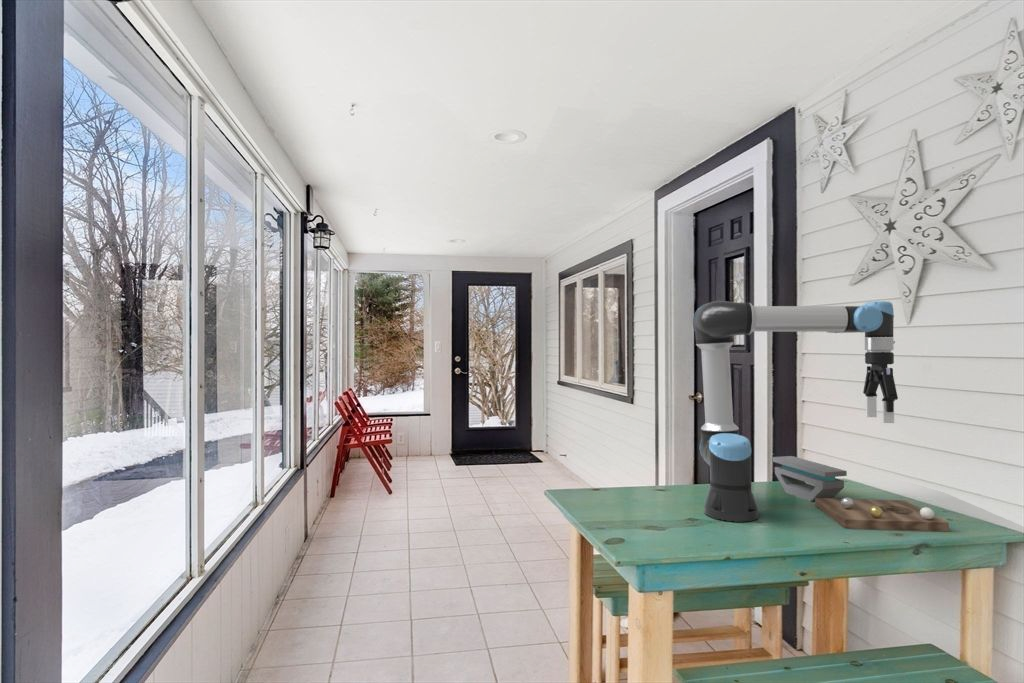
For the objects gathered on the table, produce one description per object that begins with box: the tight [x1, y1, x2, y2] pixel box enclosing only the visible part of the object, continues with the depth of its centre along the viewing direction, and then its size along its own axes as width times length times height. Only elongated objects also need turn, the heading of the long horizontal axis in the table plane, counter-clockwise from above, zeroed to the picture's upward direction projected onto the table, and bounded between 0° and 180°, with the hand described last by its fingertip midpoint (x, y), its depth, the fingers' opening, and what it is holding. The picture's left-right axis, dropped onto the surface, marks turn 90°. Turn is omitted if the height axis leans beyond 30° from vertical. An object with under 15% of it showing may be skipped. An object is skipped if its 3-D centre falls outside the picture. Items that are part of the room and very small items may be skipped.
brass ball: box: [869, 506, 883, 518], centre depth 159 cm, size 3×3×3 cm
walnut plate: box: [814, 497, 950, 533], centre depth 167 cm, size 26×22×2 cm
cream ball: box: [920, 506, 935, 519], centre depth 158 cm, size 3×3×3 cm
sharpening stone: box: [772, 455, 848, 502], centre depth 192 cm, size 25×8×11 cm, turn 12°
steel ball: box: [841, 496, 853, 509], centre depth 168 cm, size 3×3×3 cm
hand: (879, 420), depth 178 cm, fingers open, 13 cm apart
